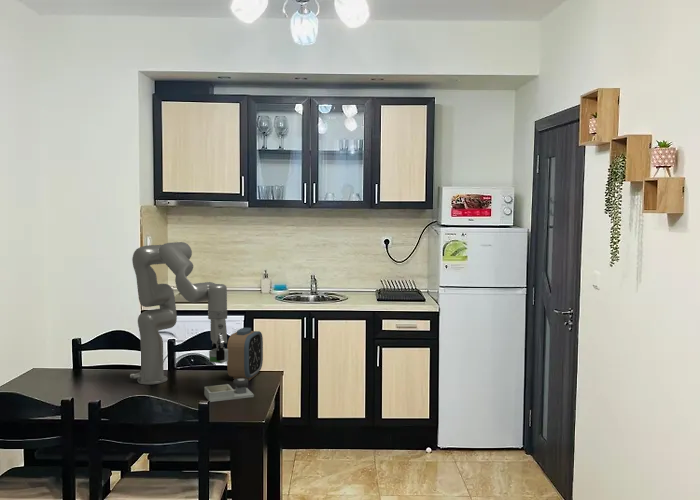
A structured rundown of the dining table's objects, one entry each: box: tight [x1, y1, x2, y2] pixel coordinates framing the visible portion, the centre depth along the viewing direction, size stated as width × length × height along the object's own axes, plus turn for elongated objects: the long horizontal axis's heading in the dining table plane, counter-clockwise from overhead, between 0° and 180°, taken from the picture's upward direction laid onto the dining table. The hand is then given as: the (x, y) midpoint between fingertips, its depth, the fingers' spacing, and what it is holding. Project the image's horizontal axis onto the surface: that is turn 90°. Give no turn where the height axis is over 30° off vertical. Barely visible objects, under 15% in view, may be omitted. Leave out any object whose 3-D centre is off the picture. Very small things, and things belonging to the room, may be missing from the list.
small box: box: [208, 348, 228, 364], centre depth 270 cm, size 6×6×5 cm
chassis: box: [203, 383, 255, 403], centre depth 272 cm, size 18×10×4 cm, turn 113°
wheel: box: [232, 378, 249, 388], centre depth 274 cm, size 6×6×5 cm
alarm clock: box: [226, 327, 264, 381], centre depth 302 cm, size 21×10×22 cm, turn 168°
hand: (218, 357), depth 270 cm, fingers closed on small box, 7 cm apart
